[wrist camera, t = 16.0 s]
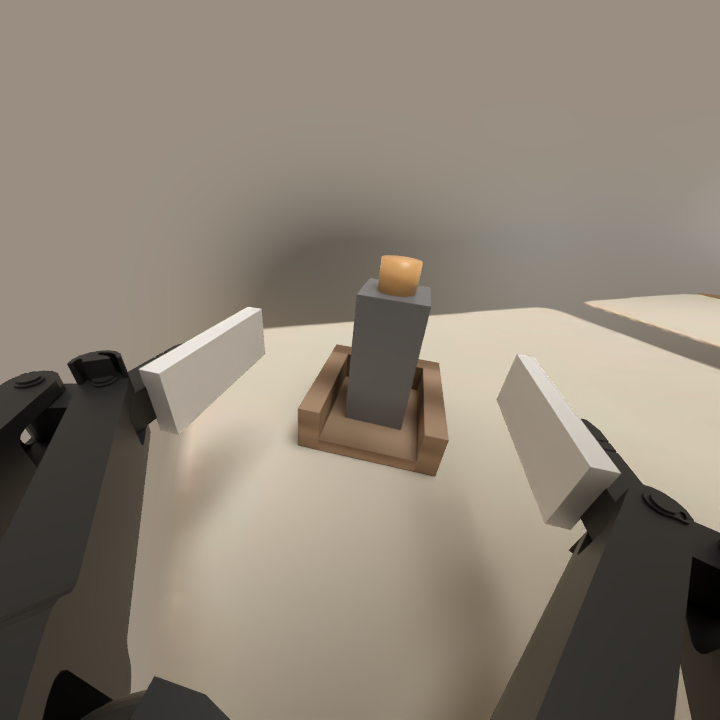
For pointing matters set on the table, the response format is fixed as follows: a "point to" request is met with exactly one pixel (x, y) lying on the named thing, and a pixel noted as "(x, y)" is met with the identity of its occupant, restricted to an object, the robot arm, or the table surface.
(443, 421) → the holder
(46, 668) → the robot arm
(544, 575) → the table surface
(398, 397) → the connector plug
